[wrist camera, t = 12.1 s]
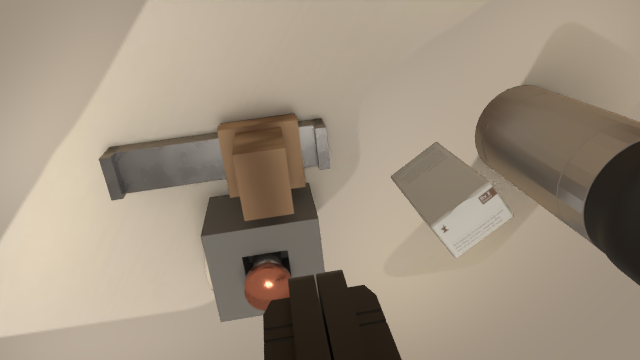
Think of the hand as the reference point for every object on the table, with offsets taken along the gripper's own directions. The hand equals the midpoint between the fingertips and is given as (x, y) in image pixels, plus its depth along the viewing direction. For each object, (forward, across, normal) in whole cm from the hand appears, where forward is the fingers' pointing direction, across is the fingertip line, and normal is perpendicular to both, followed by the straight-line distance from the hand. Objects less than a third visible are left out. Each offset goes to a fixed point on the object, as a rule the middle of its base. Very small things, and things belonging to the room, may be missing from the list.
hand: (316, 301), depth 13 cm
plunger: (+29, +3, +15) cm, 33 cm away
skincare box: (+33, -14, +11) cm, 38 cm away
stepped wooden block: (+33, +2, +6) cm, 33 cm away
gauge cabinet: (+33, +3, +15) cm, 36 cm away
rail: (+33, +6, +6) cm, 34 cm away
